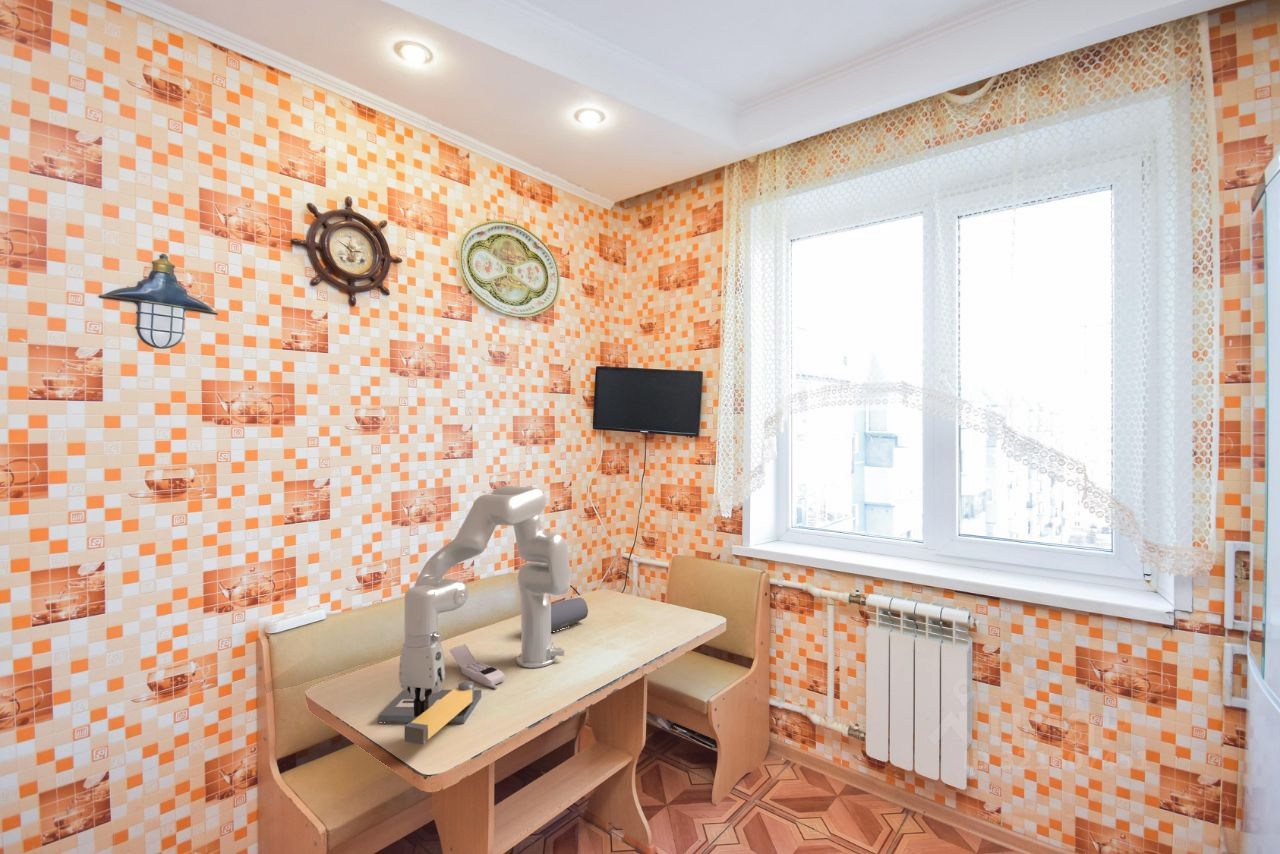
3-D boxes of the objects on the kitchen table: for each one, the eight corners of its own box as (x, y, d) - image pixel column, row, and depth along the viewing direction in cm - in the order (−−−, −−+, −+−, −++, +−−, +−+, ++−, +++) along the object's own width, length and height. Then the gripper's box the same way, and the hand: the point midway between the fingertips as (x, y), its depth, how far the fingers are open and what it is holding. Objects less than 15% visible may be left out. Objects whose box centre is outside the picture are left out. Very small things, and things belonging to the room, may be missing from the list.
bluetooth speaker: (573, 619, 216) (573, 593, 216) (589, 624, 209) (589, 598, 210) (525, 634, 200) (525, 607, 200) (540, 641, 193) (540, 612, 193)
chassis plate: (481, 697, 152) (481, 688, 152) (463, 723, 138) (463, 714, 138) (403, 696, 152) (403, 688, 152) (378, 723, 138) (378, 714, 138)
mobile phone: (464, 643, 177) (510, 664, 160) (464, 661, 176) (510, 684, 160) (447, 649, 172) (492, 671, 155) (447, 668, 172) (492, 691, 155)
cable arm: (462, 698, 146) (462, 680, 147) (478, 700, 145) (478, 682, 145) (404, 746, 124) (404, 724, 124) (423, 749, 123) (423, 727, 123)
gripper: (457, 635, 135) (457, 710, 134) (405, 630, 138) (404, 703, 138) (438, 646, 127) (438, 726, 127) (384, 641, 131) (384, 718, 131)
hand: (421, 714), depth 132 cm, fingers closed
